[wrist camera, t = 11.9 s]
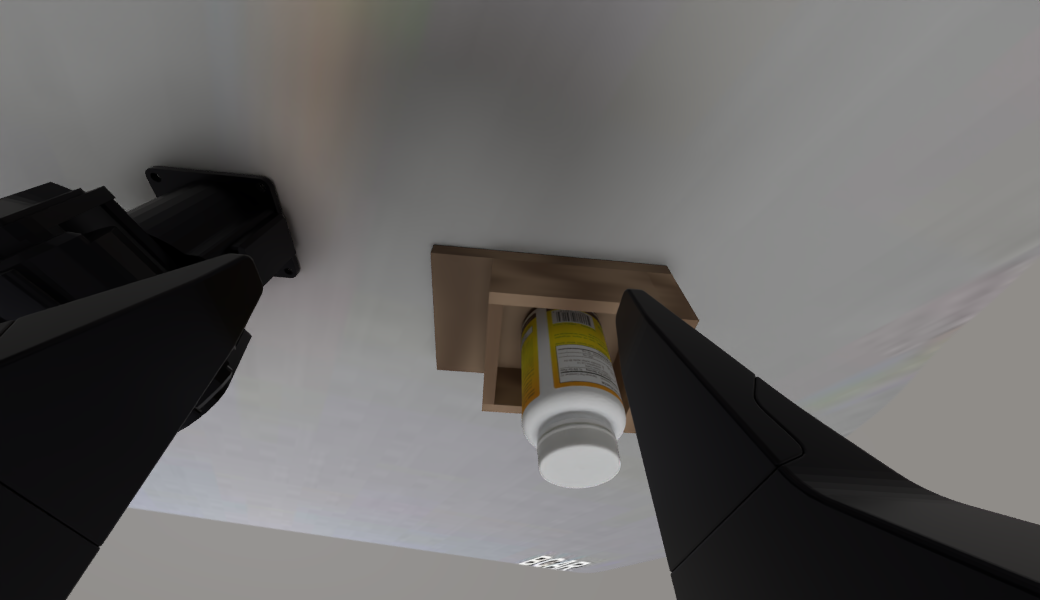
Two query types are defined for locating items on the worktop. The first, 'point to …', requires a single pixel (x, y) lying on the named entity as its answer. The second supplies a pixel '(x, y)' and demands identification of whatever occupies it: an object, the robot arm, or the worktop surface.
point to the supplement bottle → (570, 398)
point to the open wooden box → (529, 309)
